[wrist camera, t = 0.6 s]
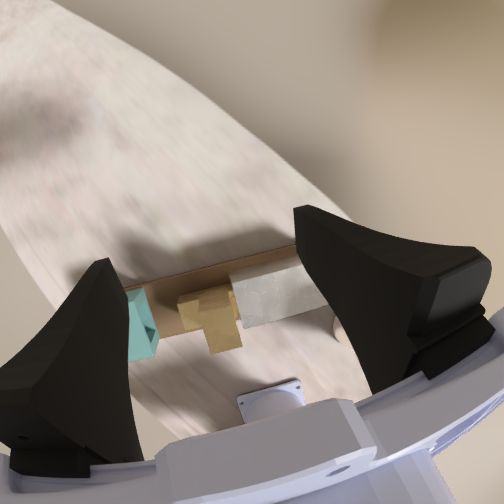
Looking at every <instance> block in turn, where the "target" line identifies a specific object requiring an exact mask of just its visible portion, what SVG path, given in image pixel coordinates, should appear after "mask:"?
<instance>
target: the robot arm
mask: <svg viewBox="0 0 504 504" xmlns="http://www.w3.org/2000/svg"><path fill="white" fill-rule="evenodd" d="M293 211H294V224H295V238H296V252H297V254H298V256H299V258H300V260H301V262H302V264H303V266H304V268H305V270H306V272H307V273H308V275H309V276H310V278H311V279H312V281H313V282H314V284H315V285H316V287H317V288H318V289H319V291H320V292H321V294H322V295H323V297H324V298H325V299H326V301H327V302H328V304H329V305H330V307H331V308H332V310H333V311H334V313H335V314H336V316H337V318H338V319H339V321H340V323H341V325H342V327H343V329H344V331H345V333H346V335H347V337H348V339H349V341H350V343H351V345H352V347H353V349H354V351H355V354H356V356H357V358H358V360H359V362H360V365H361V367H362V370H363V372H364V374H365V377H366V379H367V382H368V384H369V387H370V390H371V392H372V396H370V397H368V398H366V399H363V400H361V401H359V402H357V403H353V401H352V400H347V399H336V398H330V399H327V400H323V401H319V402H315V403H311V404H307V405H306V404H305V398H304V393H303V388H302V383H301V381H300V380H294V381H291V382H287V383H284V384H281V385H277V386H274V387H270V388H267V389H263V390H260V391H256V392H252V393H249V394H245V395H241V396H238V397H237V403H238V406H239V409H240V412H241V415H242V418H243V420H244V423H245V424H244V425H240V426H236V427H232V428H228V429H224V430H220V431H216V432H212V433H207V434H203V435H198V436H193V437H189V438H186V439H183V440H179V441H177V442H173V443H169V444H168V445H167V446H165V447H164V448H163V449H162V450H161V451H159V452H158V454H156V455H155V460H148V461H144V457H143V454H142V450H141V447H140V443H139V439H138V435H137V430H136V426H135V421H134V416H133V410H132V404H131V397H130V389H129V380H128V347H129V323H130V318H129V304H128V297H127V295H126V293H125V291H124V289H123V287H122V285H121V283H120V280H119V278H118V276H117V274H116V272H115V270H114V268H113V266H112V264H111V261H110V259H109V257H108V258H105V259H101V260H98V261H95V262H94V263H93V264H92V265H91V266H90V267H89V268H88V270H87V271H86V272H85V274H84V275H83V276H82V278H81V279H80V280H79V282H78V283H77V285H76V286H75V287H74V289H73V290H72V291H71V293H70V294H69V296H68V297H67V298H66V300H65V301H64V302H63V303H62V305H61V306H60V307H59V309H58V310H57V311H56V313H55V314H54V315H53V317H52V318H51V319H50V320H49V321H48V322H47V324H46V325H45V326H44V327H43V328H42V329H41V330H40V331H39V333H38V334H37V335H36V336H35V337H34V338H33V339H32V340H31V341H30V342H29V343H28V344H27V345H26V346H25V347H24V348H23V349H22V350H21V351H20V352H18V353H17V354H16V355H15V356H14V357H13V358H12V359H11V360H9V361H8V362H7V363H6V364H4V365H3V366H2V367H1V368H0V442H2V443H3V444H5V445H6V446H8V447H9V448H11V453H10V456H8V455H5V454H2V453H0V504H457V502H456V500H455V498H454V497H453V495H452V493H451V491H450V489H449V487H448V486H447V484H446V482H445V480H444V479H443V477H442V475H441V473H440V471H439V470H438V468H437V466H436V464H435V463H434V461H433V459H432V458H433V457H434V456H436V455H437V454H439V453H440V452H441V451H443V450H444V449H446V448H447V447H449V446H450V445H451V444H453V443H454V442H455V441H457V440H458V439H459V438H461V437H462V436H463V435H465V434H466V433H467V432H469V431H470V430H471V429H472V428H474V427H475V426H476V425H477V424H478V423H480V422H481V421H482V420H483V419H485V418H486V417H487V416H488V415H489V414H490V413H492V412H493V411H494V410H495V409H496V408H497V407H498V406H499V405H501V404H502V403H503V402H504V307H503V308H502V309H500V310H499V311H497V312H496V313H495V314H494V315H492V317H491V318H490V319H489V320H487V319H486V318H485V317H484V316H483V314H485V308H484V307H483V306H482V305H481V304H480V302H481V300H482V297H483V295H484V293H485V290H486V288H487V285H488V283H489V280H490V276H491V270H492V267H491V262H490V260H489V259H488V258H487V257H486V256H484V255H483V254H482V253H481V252H480V251H479V250H477V249H476V248H475V247H470V246H448V245H439V244H431V243H424V242H418V241H413V240H408V239H404V238H399V237H395V236H392V235H388V234H385V233H381V232H378V231H374V230H372V229H369V228H366V227H364V226H361V225H358V224H355V223H353V222H350V221H348V220H345V219H343V218H341V217H338V216H336V215H334V214H331V213H329V212H326V211H324V210H322V209H319V208H317V207H314V206H311V205H304V206H300V207H296V208H293ZM297 386H299V387H298V388H296V387H297ZM240 402H243V403H240Z"/></svg>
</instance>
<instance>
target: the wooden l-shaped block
mask: <svg viewBox="0 0 504 504" xmlns="http://www.w3.org/2000/svg"><path fill="white" fill-rule="evenodd" d="M177 306H178V310H179V313H180V316H181V319H182V322H183V325H184V328H185V331H186V330H190V329H194V328H198V327H203V330H204V334H205V337H206V340H207V343H208V346H209V349H210V352H211V354H215V353H219V352H223V351H227V350H231V349H235V348H239V347H243V346H242V342H241V338H240V335H239V331H238V328H237V324H236V320H235V318H238V317H240V314H239V310H238V306H237V302H236V299H235V295H234V291H233V287H232V284H231V283H229V284H225V285H221V286H217V287H214V288H210V289H206V290H202V291H198V292H194V293H190V294H186V295H182V296H179V299H178V303H177Z"/></svg>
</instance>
